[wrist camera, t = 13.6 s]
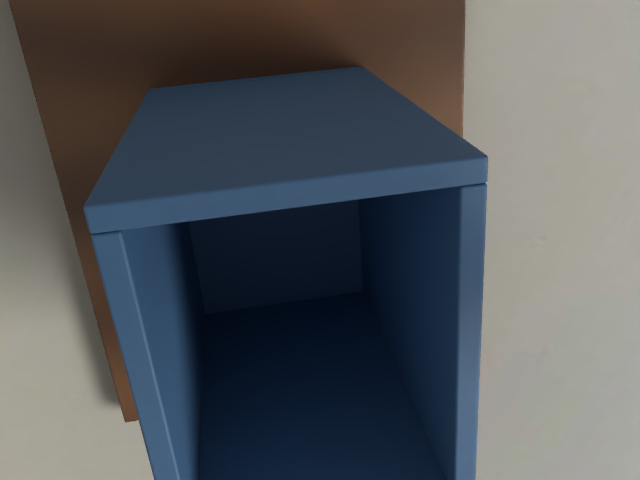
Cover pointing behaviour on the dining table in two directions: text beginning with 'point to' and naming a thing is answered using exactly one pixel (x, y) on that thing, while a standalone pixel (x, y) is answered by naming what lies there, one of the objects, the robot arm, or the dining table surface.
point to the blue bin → (296, 280)
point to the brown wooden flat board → (211, 76)
